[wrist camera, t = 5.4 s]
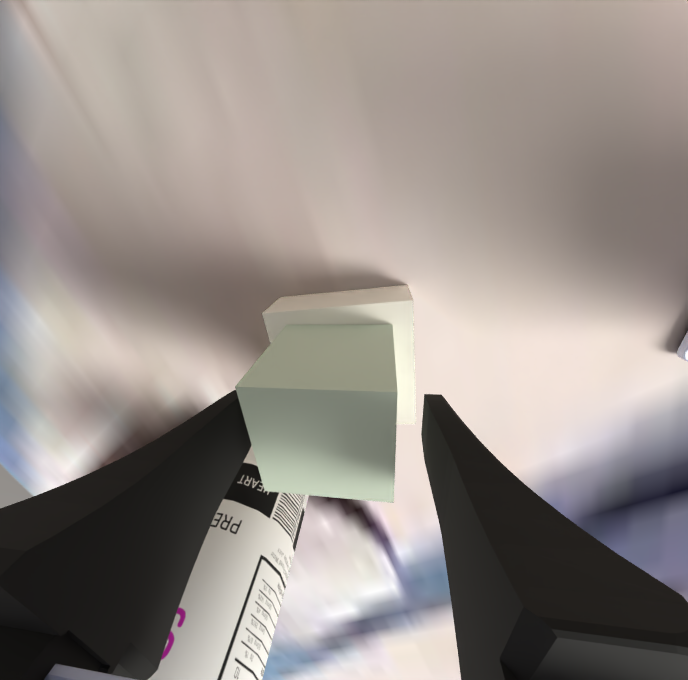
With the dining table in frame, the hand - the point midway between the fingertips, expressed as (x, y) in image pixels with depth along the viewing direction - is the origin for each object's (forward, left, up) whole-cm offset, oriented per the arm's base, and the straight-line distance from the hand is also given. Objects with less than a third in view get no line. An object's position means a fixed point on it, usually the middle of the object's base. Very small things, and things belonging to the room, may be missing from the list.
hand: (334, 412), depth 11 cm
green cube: (0, 0, -3) cm, 3 cm away
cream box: (0, 0, -6) cm, 6 cm away
